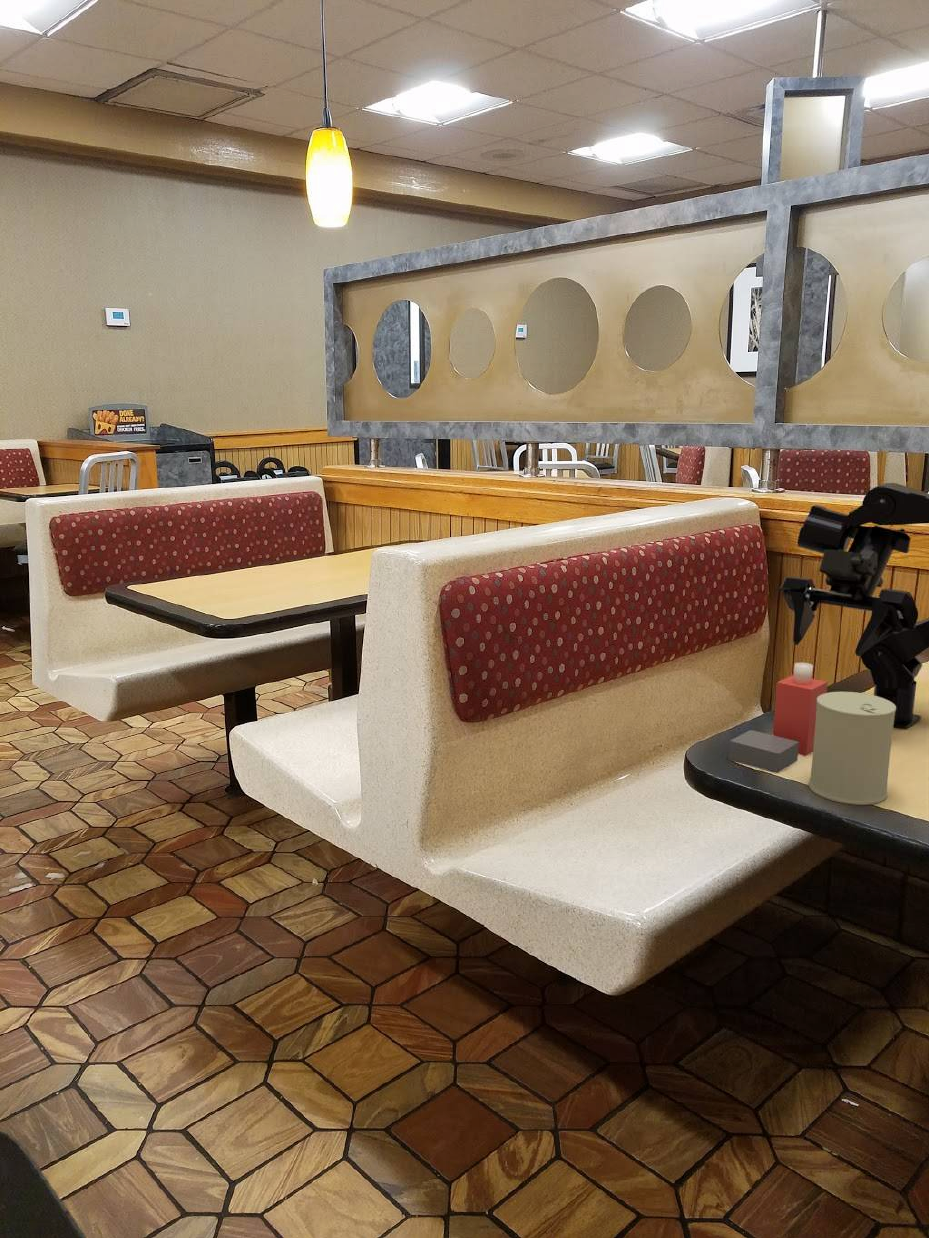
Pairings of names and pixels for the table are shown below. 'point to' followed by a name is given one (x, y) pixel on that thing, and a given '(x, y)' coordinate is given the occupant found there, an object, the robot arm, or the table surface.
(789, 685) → the ketchup bottle
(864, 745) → the can
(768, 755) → the grey box
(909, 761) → the table surface
